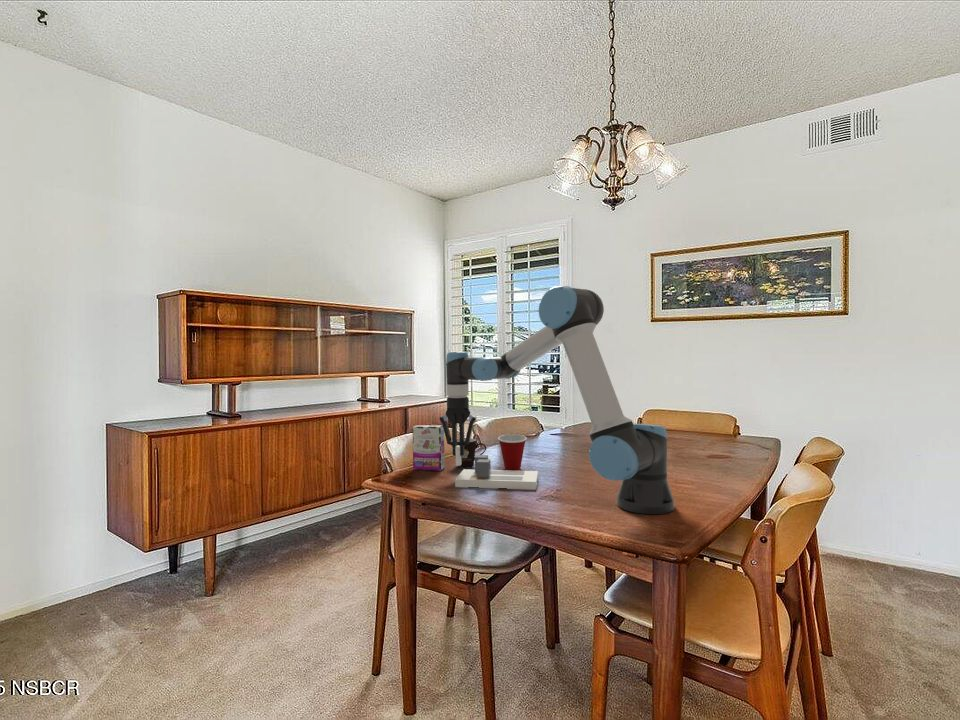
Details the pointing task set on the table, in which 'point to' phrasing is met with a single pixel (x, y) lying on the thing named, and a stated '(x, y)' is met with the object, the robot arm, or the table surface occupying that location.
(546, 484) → the table surface
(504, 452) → the plastic cup
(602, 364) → the robot arm
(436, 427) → the candy bar box
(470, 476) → the switch panel
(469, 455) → the coffee mug
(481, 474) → the switch tab near
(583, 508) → the table surface
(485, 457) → the switch tab far
